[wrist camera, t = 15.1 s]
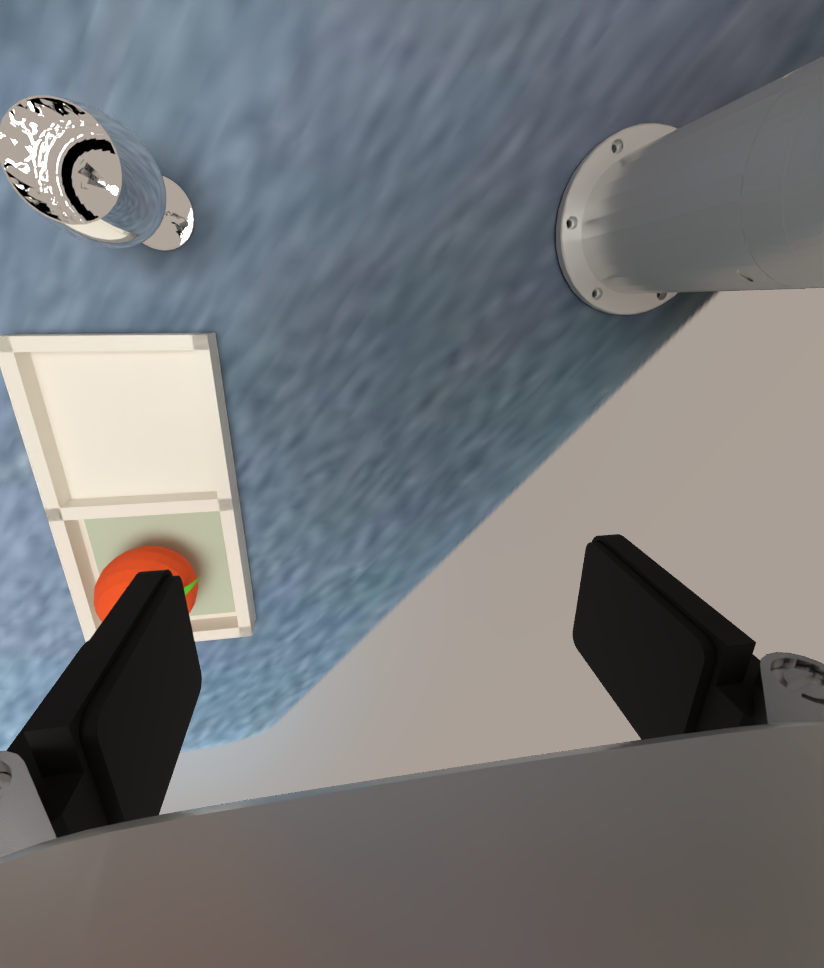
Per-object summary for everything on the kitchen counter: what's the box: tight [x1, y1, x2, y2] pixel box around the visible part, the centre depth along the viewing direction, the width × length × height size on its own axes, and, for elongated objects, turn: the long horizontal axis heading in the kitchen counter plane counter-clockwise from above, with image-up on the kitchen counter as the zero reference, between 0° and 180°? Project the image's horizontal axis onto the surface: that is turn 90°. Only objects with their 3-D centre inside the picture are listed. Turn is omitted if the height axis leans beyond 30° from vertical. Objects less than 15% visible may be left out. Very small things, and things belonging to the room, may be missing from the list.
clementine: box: [94, 546, 201, 622], centre depth 35 cm, size 8×7×7 cm
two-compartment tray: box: [0, 333, 256, 642], centre depth 36 cm, size 13×25×2 cm, turn 0°
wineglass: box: [0, 95, 195, 251], centre depth 25 cm, size 6×6×12 cm
